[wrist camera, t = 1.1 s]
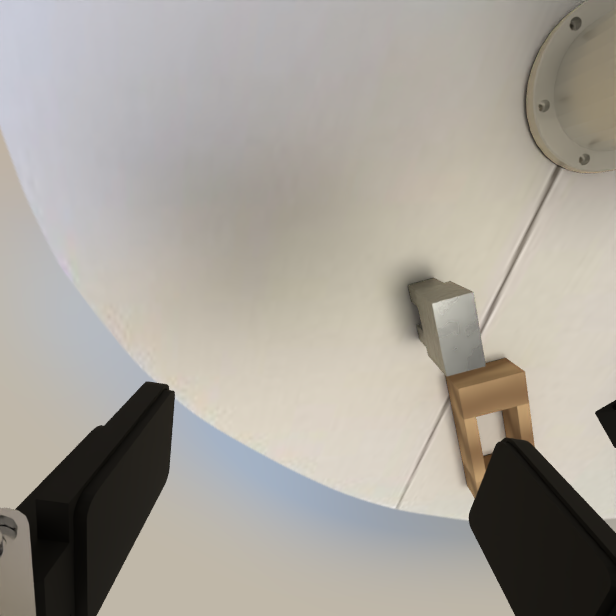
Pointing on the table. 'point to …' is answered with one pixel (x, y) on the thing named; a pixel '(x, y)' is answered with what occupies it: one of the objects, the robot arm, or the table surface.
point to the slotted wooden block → (488, 410)
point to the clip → (448, 325)
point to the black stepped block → (608, 420)
